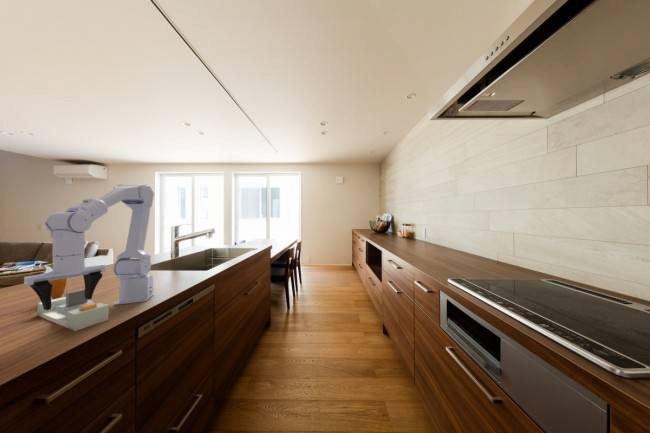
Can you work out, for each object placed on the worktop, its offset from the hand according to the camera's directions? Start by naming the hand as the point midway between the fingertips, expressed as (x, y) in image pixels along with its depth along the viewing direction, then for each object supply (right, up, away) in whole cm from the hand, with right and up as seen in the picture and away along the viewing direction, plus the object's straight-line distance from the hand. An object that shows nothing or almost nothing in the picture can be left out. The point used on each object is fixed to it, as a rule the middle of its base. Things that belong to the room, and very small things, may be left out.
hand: (69, 303), depth 60 cm
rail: (-8, -7, +7) cm, 13 cm away
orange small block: (+1, -6, +4) cm, 7 cm away
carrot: (-30, -8, +21) cm, 37 cm away
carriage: (-5, -5, +6) cm, 9 cm away
